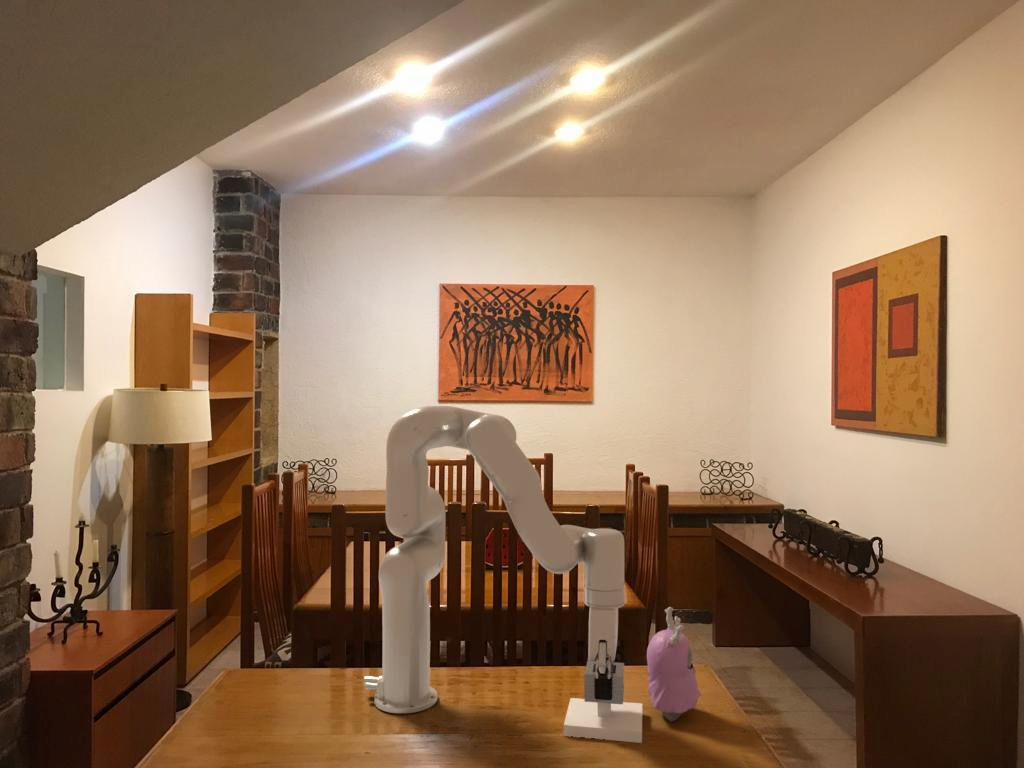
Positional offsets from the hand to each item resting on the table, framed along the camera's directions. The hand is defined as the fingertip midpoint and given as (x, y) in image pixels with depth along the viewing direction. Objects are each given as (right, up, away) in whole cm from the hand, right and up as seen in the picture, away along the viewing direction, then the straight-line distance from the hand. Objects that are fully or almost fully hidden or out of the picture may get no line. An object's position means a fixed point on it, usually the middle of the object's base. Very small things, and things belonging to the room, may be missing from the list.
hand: (604, 689), depth 137 cm
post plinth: (0, -6, 0) cm, 6 cm away
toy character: (+14, -7, +4) cm, 16 cm away
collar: (0, -1, 0) cm, 1 cm away
